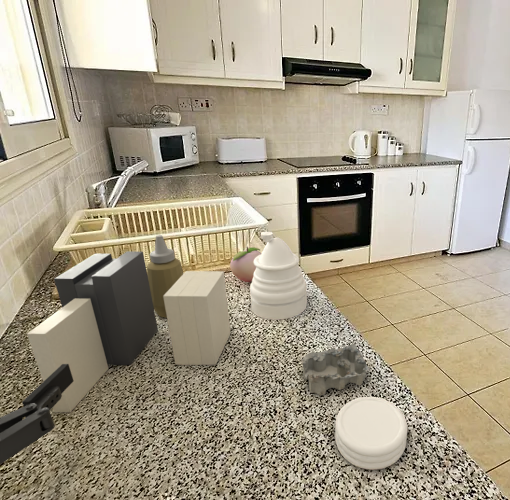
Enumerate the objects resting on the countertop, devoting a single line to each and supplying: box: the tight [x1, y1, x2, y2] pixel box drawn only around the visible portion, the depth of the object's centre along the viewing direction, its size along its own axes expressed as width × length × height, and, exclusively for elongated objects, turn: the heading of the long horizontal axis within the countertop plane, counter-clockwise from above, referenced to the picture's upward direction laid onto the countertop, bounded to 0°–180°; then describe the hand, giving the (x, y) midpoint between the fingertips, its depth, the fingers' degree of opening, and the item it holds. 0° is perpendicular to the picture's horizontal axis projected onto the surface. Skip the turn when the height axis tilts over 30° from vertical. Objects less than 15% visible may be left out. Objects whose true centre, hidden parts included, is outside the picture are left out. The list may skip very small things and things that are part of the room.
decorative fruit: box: [229, 245, 262, 283], centre depth 97 cm, size 9×8×10 cm
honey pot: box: [249, 231, 308, 321], centre depth 84 cm, size 13×13×18 cm
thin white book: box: [26, 298, 109, 413], centre depth 58 cm, size 2×10×14 cm, turn 2°
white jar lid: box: [334, 396, 408, 471], centre depth 52 cm, size 10×10×4 cm
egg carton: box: [300, 343, 371, 396], centre depth 64 cm, size 11×8×4 cm
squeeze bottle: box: [146, 234, 185, 319], centre depth 80 cm, size 8×8×18 cm
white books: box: [163, 270, 232, 366], centre depth 69 cm, size 7×10×14 cm
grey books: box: [53, 250, 159, 366], centre depth 68 cm, size 9×11×18 cm
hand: (13, 372), depth 48 cm, fingers open, 13 cm apart
